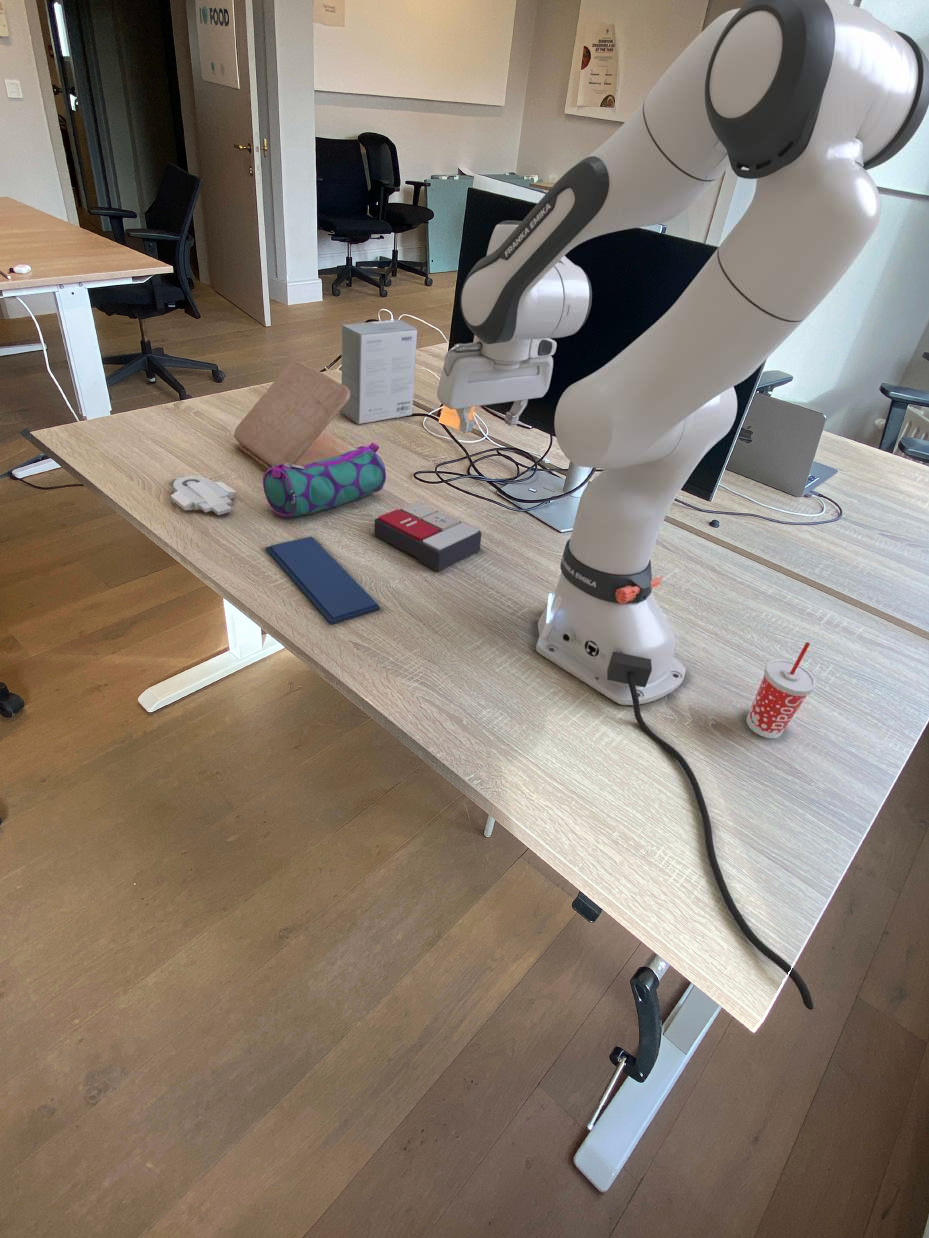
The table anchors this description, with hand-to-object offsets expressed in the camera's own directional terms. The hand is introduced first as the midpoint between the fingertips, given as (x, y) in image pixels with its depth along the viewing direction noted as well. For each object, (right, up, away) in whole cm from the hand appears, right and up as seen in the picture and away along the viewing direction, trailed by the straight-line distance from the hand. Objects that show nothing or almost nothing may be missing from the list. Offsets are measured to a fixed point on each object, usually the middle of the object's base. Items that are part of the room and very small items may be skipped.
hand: (488, 427), depth 113 cm
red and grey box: (-10, -18, +6) cm, 22 cm away
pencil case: (-29, -11, +12) cm, 33 cm away
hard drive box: (-25, +17, +50) cm, 58 cm away
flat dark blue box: (-26, -25, -7) cm, 37 cm away
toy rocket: (-50, -10, +8) cm, 52 cm away
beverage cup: (+36, -45, -21) cm, 62 cm away
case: (-37, +2, +27) cm, 46 cm away
